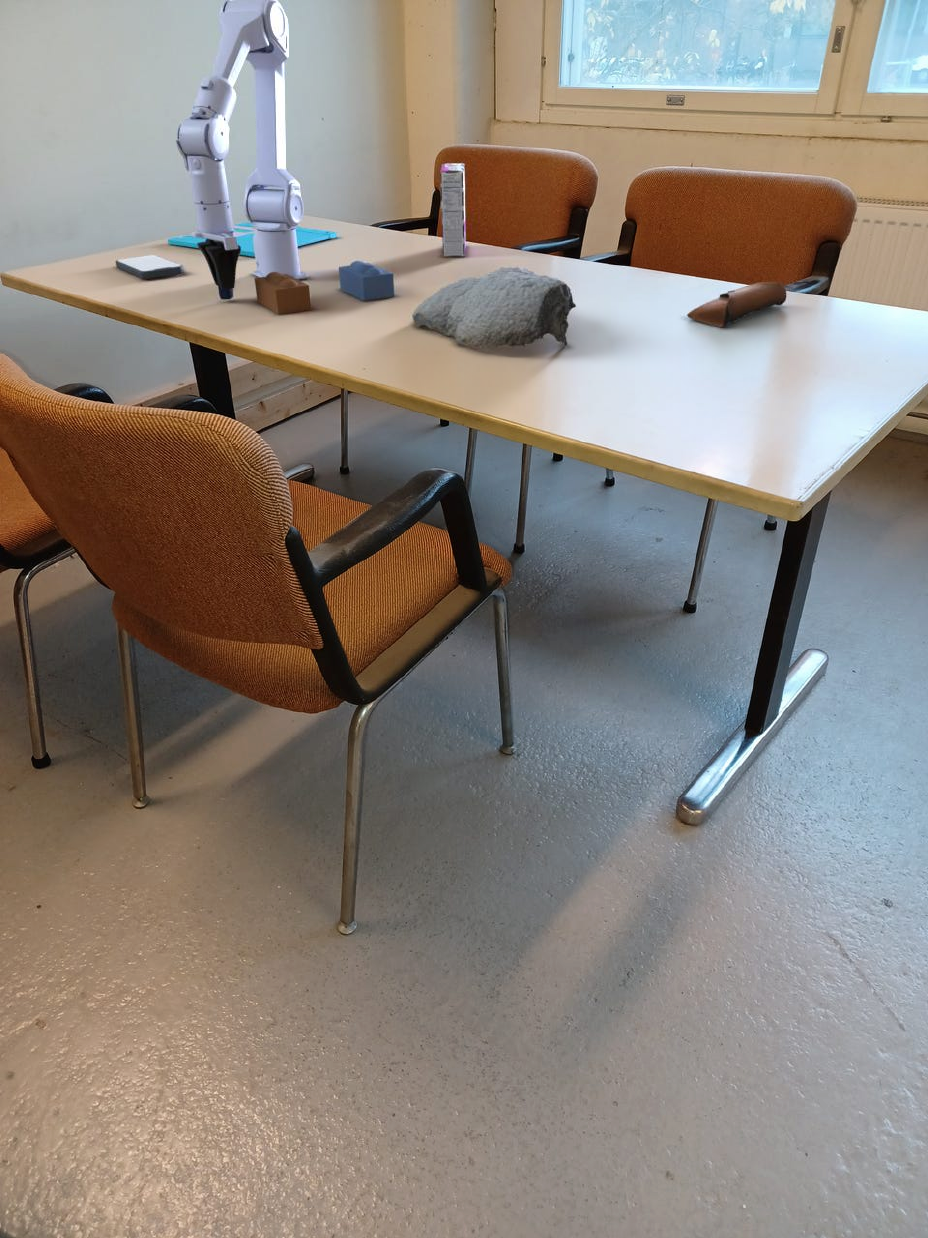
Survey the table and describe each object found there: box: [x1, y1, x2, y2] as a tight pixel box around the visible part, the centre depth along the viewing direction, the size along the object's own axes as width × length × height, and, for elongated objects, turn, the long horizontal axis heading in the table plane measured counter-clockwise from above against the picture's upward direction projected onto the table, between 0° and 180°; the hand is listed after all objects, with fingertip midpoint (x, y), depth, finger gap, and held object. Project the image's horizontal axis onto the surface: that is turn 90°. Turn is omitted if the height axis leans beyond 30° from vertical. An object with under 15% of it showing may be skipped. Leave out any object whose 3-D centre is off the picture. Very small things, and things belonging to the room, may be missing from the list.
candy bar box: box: [439, 162, 467, 258], centre depth 185 cm, size 11×5×16 cm, turn 179°
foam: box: [411, 266, 577, 349], centre depth 137 cm, size 28×21×9 cm
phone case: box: [115, 254, 185, 280], centre depth 176 cm, size 9×2×16 cm
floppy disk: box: [167, 221, 338, 258], centre depth 200 cm, size 26×28×1 cm
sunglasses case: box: [686, 281, 787, 329], centre depth 146 cm, size 18×7×7 cm, turn 135°
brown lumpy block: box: [254, 272, 312, 315], centre depth 152 cm, size 10×6×5 cm, turn 31°
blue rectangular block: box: [338, 260, 395, 302], centre depth 159 cm, size 10×6×5 cm, turn 31°
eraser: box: [216, 272, 234, 300], centre depth 153 cm, size 2×2×7 cm
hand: (225, 286), depth 154 cm, fingers closed on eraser, 3 cm apart
